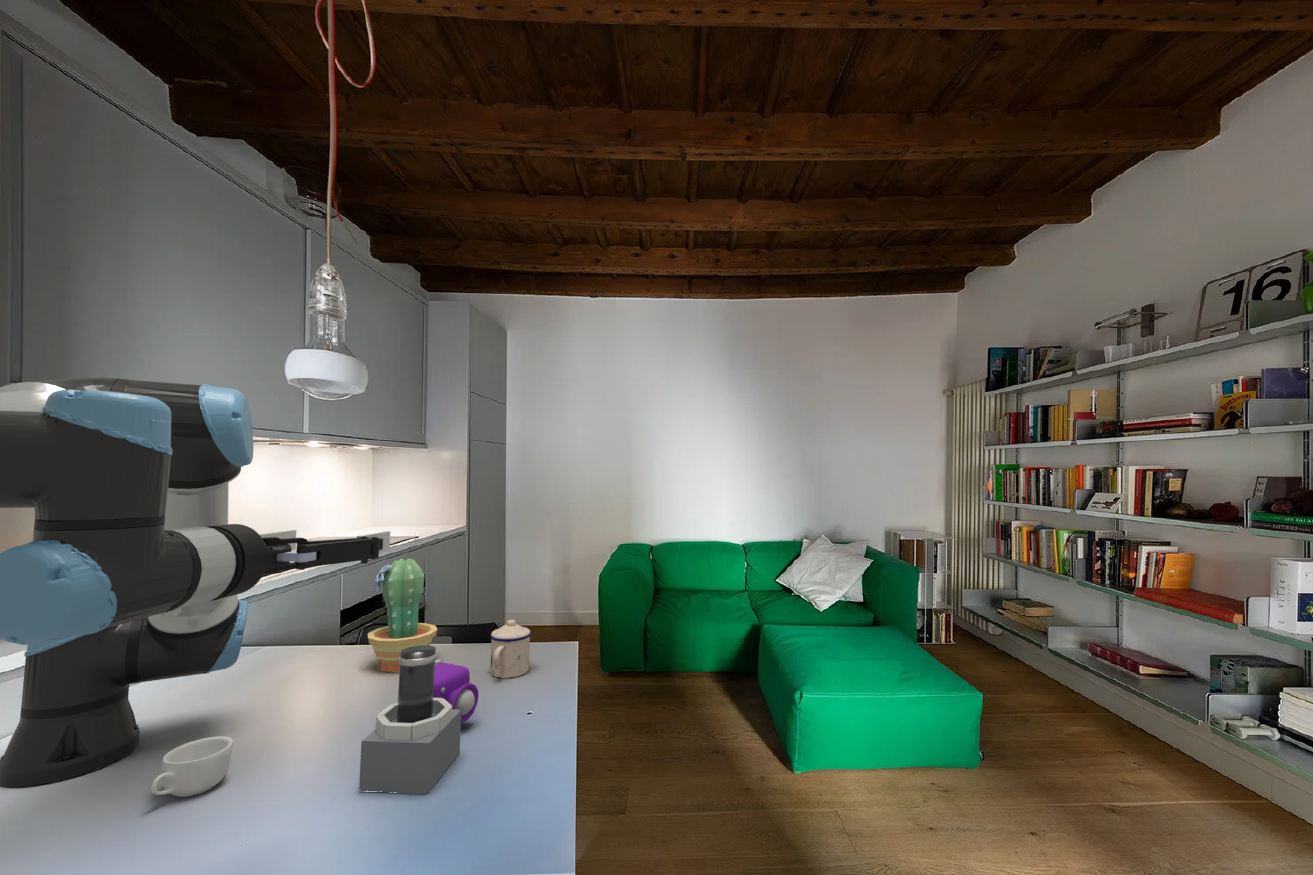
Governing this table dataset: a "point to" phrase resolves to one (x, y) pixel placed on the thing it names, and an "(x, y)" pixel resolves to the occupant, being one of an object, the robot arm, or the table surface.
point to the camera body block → (410, 750)
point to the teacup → (194, 767)
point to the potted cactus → (400, 613)
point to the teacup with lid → (510, 650)
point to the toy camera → (455, 688)
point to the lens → (416, 683)
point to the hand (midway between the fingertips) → (340, 540)
